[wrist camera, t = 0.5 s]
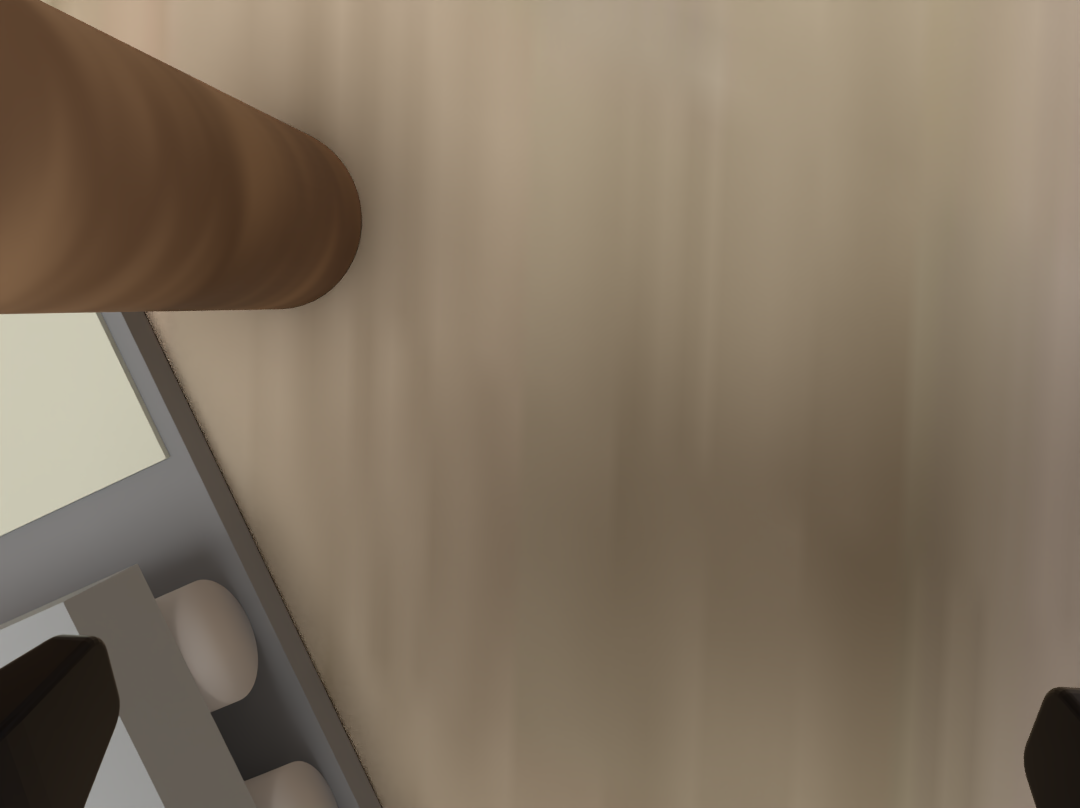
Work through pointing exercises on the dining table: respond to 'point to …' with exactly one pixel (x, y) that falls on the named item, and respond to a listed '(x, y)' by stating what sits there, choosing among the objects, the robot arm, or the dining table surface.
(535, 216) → the dining table surface
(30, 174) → the walnut roller
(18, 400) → the grey stand
